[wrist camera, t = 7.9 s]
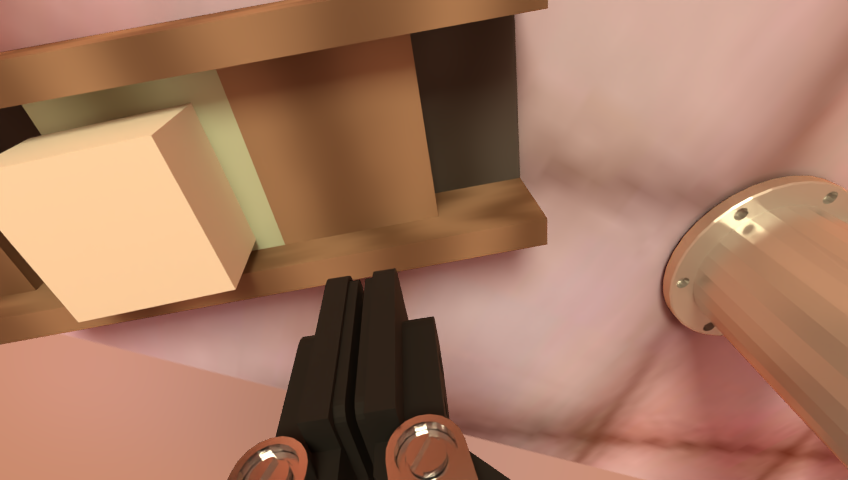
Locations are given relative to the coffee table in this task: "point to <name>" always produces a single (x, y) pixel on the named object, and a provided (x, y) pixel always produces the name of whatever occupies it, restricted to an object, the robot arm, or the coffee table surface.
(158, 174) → the cream block
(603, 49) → the coffee table surface
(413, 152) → the box
